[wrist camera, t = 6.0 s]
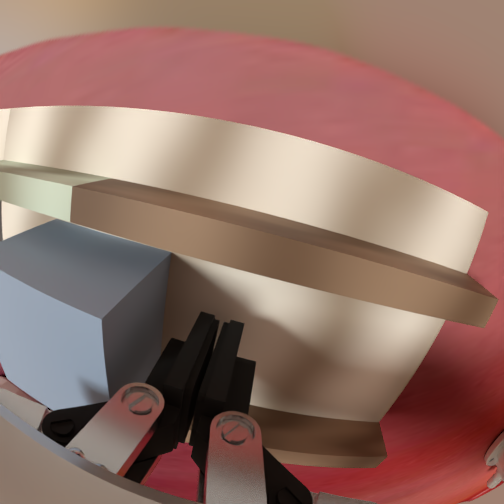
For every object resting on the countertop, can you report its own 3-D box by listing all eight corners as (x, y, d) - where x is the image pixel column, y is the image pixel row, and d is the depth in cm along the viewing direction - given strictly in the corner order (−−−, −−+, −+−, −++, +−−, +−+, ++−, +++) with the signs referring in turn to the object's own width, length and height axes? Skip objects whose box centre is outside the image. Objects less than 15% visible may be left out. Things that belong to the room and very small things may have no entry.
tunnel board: (459, 201, 11) (525, 227, 6) (343, 429, 16) (351, 488, 12) (-31, 116, 12) (-75, 120, 7) (-27, 290, 17) (-60, 312, 12)
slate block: (171, 252, 11) (101, 319, 6) (159, 366, 13) (118, 444, 8) (56, 218, 11) (-26, 253, 6) (62, 325, 13) (7, 378, 8)
